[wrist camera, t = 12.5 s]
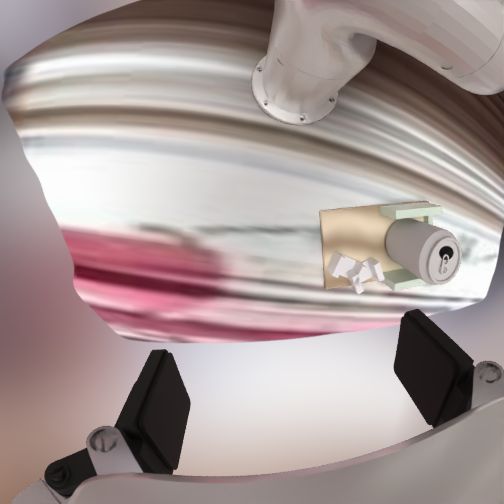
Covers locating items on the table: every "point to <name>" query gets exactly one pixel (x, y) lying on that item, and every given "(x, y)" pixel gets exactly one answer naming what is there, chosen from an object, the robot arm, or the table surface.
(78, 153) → the table surface
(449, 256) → the can
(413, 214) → the bracket
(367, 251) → the board
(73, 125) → the table surface
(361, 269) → the clip
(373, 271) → the clip
